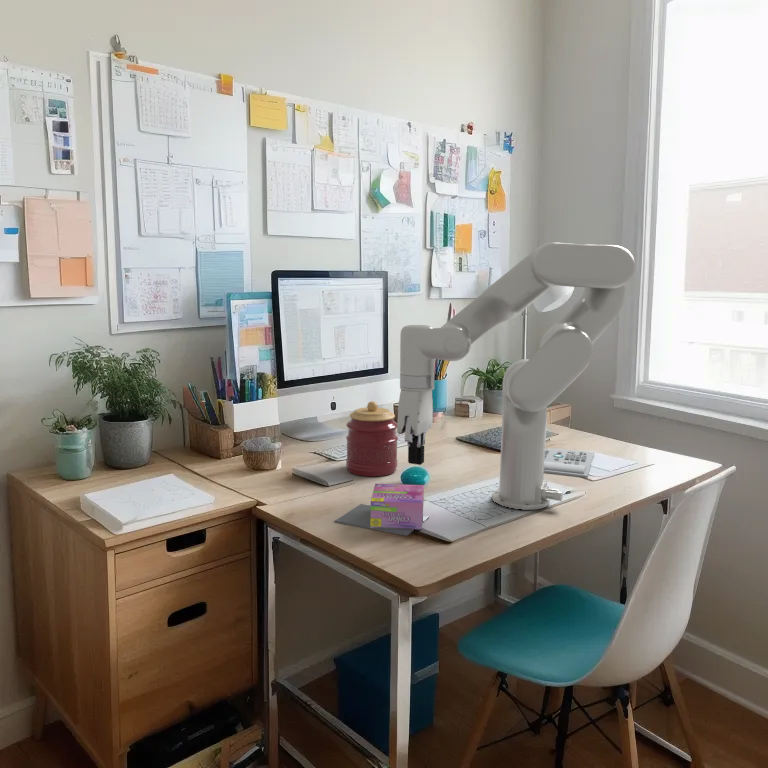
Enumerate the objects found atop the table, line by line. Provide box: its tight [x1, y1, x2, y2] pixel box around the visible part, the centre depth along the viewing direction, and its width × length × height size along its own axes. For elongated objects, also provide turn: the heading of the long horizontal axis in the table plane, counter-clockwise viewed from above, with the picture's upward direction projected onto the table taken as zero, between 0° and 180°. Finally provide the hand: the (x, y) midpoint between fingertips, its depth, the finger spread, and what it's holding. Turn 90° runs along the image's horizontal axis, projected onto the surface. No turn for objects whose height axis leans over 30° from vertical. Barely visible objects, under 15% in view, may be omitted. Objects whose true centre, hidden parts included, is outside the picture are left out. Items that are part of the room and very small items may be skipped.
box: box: [370, 483, 425, 531], centre depth 148 cm, size 10×6×12 cm
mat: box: [334, 503, 415, 537], centre depth 149 cm, size 16×12×1 cm
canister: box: [345, 400, 399, 477], centre depth 182 cm, size 13×13×18 cm
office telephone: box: [544, 447, 596, 479], centre depth 194 cm, size 23×3×20 cm
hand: (416, 462), depth 162 cm, fingers closed
